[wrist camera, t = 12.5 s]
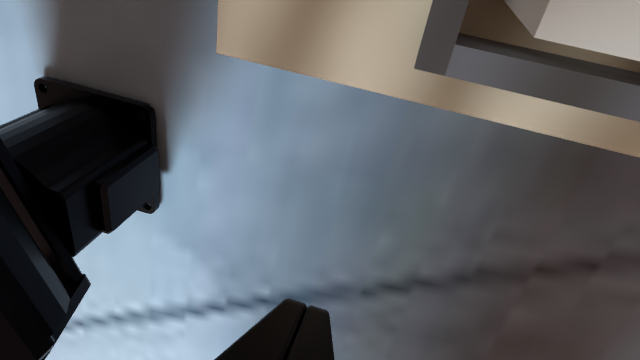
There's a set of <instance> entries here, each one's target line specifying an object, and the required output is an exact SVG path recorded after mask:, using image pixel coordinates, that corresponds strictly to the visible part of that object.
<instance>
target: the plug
mask: <svg viewBox="0 0 640 360" xmlns="http://www.w3.org/2000/svg"><path fill="white" fill-rule="evenodd" d="M504 1H505V2H506V4H507V5H508V6H509V7H510V9H511V10H512V11H513V12H514V14H515V15H516V16H517V17H518V19H519V20H520V21H521V22H522V23H523V25H524V26H525V27H526V28H527V30H528V31H529V32H530V33H531V35H532V36H533V37H534V38H538V39H542V40H547V41H551V42H556V43H560V44H565V45H569V46H574V47H578V48H582V49H587V50H591V51H596V52H600V53H605V54H609V55H614V56H618V57H623V58H627V59H631V60H636V61H640V0H504Z"/></svg>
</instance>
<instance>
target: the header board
mask: <svg viewBox="0 0 640 360" xmlns="http://www.w3.org/2000/svg"><path fill="white" fill-rule="evenodd" d="M216 53H218V54H222V55H226V56H230V57H234V58H238V59H243V60H247V61H251V62H255V63H259V64H263V65H267V66H271V67H275V68H279V69H283V70H287V71H291V72H295V73H299V74H303V75H307V76H311V77H315V78H320V79H324V80H328V81H332V82H336V83H340V84H344V85H348V86H352V87H356V88H360V89H364V90H368V91H372V92H376V93H380V94H384V95H388V96H392V97H397V98H401V99H405V100H409V101H413V102H417V103H421V104H425V105H429V106H433V107H437V108H441V109H445V110H449V111H453V112H457V113H461V114H465V115H469V116H474V117H478V118H482V119H486V120H490V121H494V122H498V123H502V124H506V125H510V126H514V127H518V128H522V129H526V130H530V131H534V132H538V133H542V134H546V135H551V136H555V137H559V138H563V139H567V140H571V141H575V142H579V143H583V144H587V145H591V146H595V147H599V148H603V149H607V150H611V151H615V152H619V153H623V154H628V155H632V156H636V157H640V61H636V60H631V59H627V58H623V57H618V56H614V55H609V54H605V53H600V52H596V51H591V50H587V49H582V48H578V47H574V46H569V45H565V44H560V43H556V42H551V41H547V40H542V39H538V38H534V37H533V36H532V35H531V33H530V32H529V31H528V30H527V28H526V27H525V26H524V25H523V23H522V22H521V21H520V20H519V19H518V17H517V16H516V15H515V14H514V12H513V11H512V10H511V9H510V7H509V6H508V5H507V4H506V2H505V1H504V0H218V20H217V49H216Z"/></svg>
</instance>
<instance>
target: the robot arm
mask: <svg viewBox="0 0 640 360" xmlns="http://www.w3.org/2000/svg"><path fill="white" fill-rule="evenodd" d="M45 86H46V87H47V88H46V87H45ZM34 87H35V92H36V97H37V102H38V107H39V109H38V110H36V111H33V112H31V113H29V114H26V115H24V116H22V117H19V118H17V119H15V120H12V121H10V122H8V123H5V124H3V125H1V126H0V360H45V358H46V357H47V355H48V354H49V353H50V351H51V349H52V348H53V346H54V344H55V343H56V341H57V339H58V338H59V336H60V335H61V333H62V331H63V330H64V328H65V326H66V325H67V323H68V321H69V320H70V318H71V316H72V315H73V313H74V311H75V310H76V308H77V307H78V305H79V303H80V302H81V300H82V298H83V297H84V295H85V293H86V292H87V290H88V288H89V287H90V285H91V283H90V282H89V280H88V278H87V277H86V275H85V274H82V273H81V271H80V269H79V268H78V266H77V264H76V263H75V261H74V259H73V258H72V257H74V256H76V255H77V254H78V253H79V252H80V251H81V250H83V249H84V248H85V247H86V246H87V245H88V244H89V243H91V242H92V241H93V240H94V239H95V238H96V237H98V236H99V235H100V234H101V233H102V232H103V233H107V234H109V233H111V232H112V231H114V230H115V229H116V228H117V227H118V226H120V225H121V224H122V223H123V222H124V221H125V220H126V219H127V218H129V217H130V216H131V215H132V214H133V213H134V212H135V211H136V210H138V211H141V212H145V213H149V214H151V213H154V212H155V211H156V210H157V209H158V208H159V190H160V181H159V158H158V150H157V143H156V121H155V112H154V110H153V108H152V107H151V106H150V105H149V104H146V103H143V102H140V101H136V100H132V99H129V98H125V97H121V96H117V95H114V94H110V93H106V92H103V91H99V90H95V89H92V88H88V87H84V86H80V85H77V84H73V83H69V82H66V81H62V80H58V79H54V78H51V77H46V76H44V77H41V78H38V79H36V80H35V82H34ZM141 111H143V112H144V113H145V115H146V117H145V116H144V115H143V114H142V112H141ZM148 203H149V204H150V205H151V206H150V205H149V204H148ZM215 360H334V352H333V343H332V334H331V326H330V317H329V313H328V311H327V310H324V309H321V308H318V307H315V306H311V305H310V306H308V307H307V306H306V304H305V303H302V302H299V301H296V300H293V299H289V298H288V299H285V300H283V301H282V302H281V303H280V304H279V305H278V306H276V307H275V308H274V309H273V310H272V311H271V312H269V313H268V314H267V315H266V316H265V317H264V318H262V319H261V320H260V321H259V322H258V323H257V324H255V325H254V326H253V327H252V328H251V329H250V330H248V331H247V332H246V333H245V334H244V335H243V336H241V337H240V338H239V339H238V340H237V341H236V342H234V343H233V344H232V345H231V346H230V347H229V348H227V349H226V350H225V351H224V352H223V353H222V354H220V355H219V356H218V357H217V358H216V359H215Z"/></svg>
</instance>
